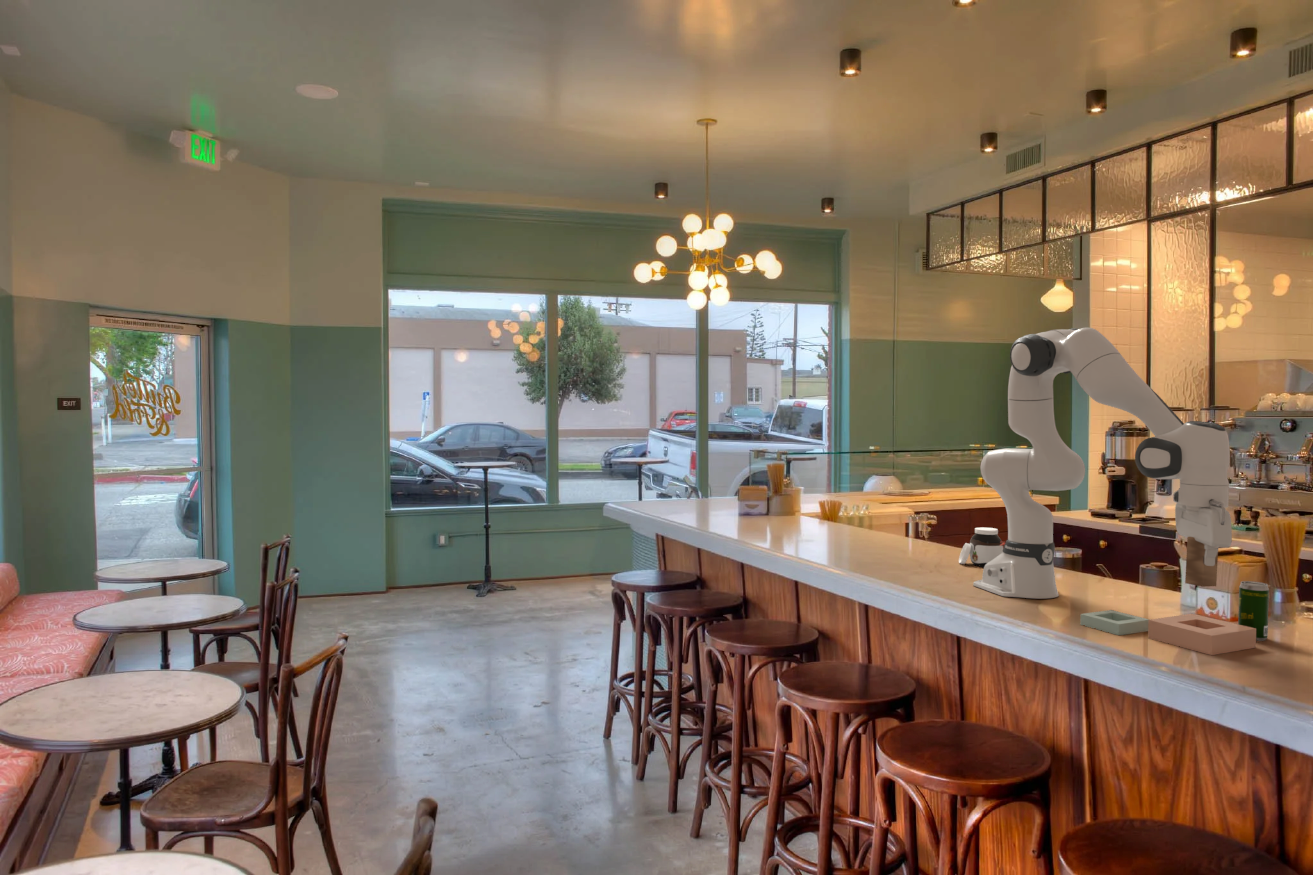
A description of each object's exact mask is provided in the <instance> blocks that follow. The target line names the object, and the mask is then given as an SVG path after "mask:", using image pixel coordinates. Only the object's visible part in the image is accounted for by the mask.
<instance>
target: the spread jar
mask: <svg viewBox="0 0 1313 875" xmlns="http://www.w3.org/2000/svg"><path fill="white" fill-rule="evenodd" d="M998 534H999V530H998V528H995V527H994V528H993V527H983V526H982V527H975V528H974V534H973V535H972V536H971V538H970V540H969V543H967V542H965V543H964V544H963V546H962V549H961V551H960V554H959V556H958V563H959V564H960V565H965V564H966V563H967V561H968V559H970V561H971V564H972V565H974V566H975V567H979V568H984V567H985V565H986V564H987V563H988V562H990V561H991V560H993V559H994V558H996V557H997V556H998V555H1000V554H1001V553H1003V548H1004V546H1000V545H1001V544H1003V543H1000V542H1002V539H1001V538H1000V537H999V535H998Z"/></svg>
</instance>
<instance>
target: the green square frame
mask: <svg viewBox="0 0 1313 875" xmlns="http://www.w3.org/2000/svg"><path fill="white" fill-rule="evenodd" d="M1148 620H1151V619H1148V618H1145V617H1141V616H1137V615H1133V614H1129V613H1125V612H1121V611H1117V610H1114V609H1109V610H1101V611H1092V612H1084V613H1080V620H1079V621H1080V625H1081V626H1083V625H1085V626H1084V627H1087V628H1090V627H1091V629H1094V628H1096V629H1095V630H1098V631H1101V630H1102V631H1101V632H1105V633H1108V632H1109V634H1113V635H1116V636H1123V635H1132V634H1137V633H1144V632H1148ZM1080 625H1079V626H1080Z"/></svg>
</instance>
